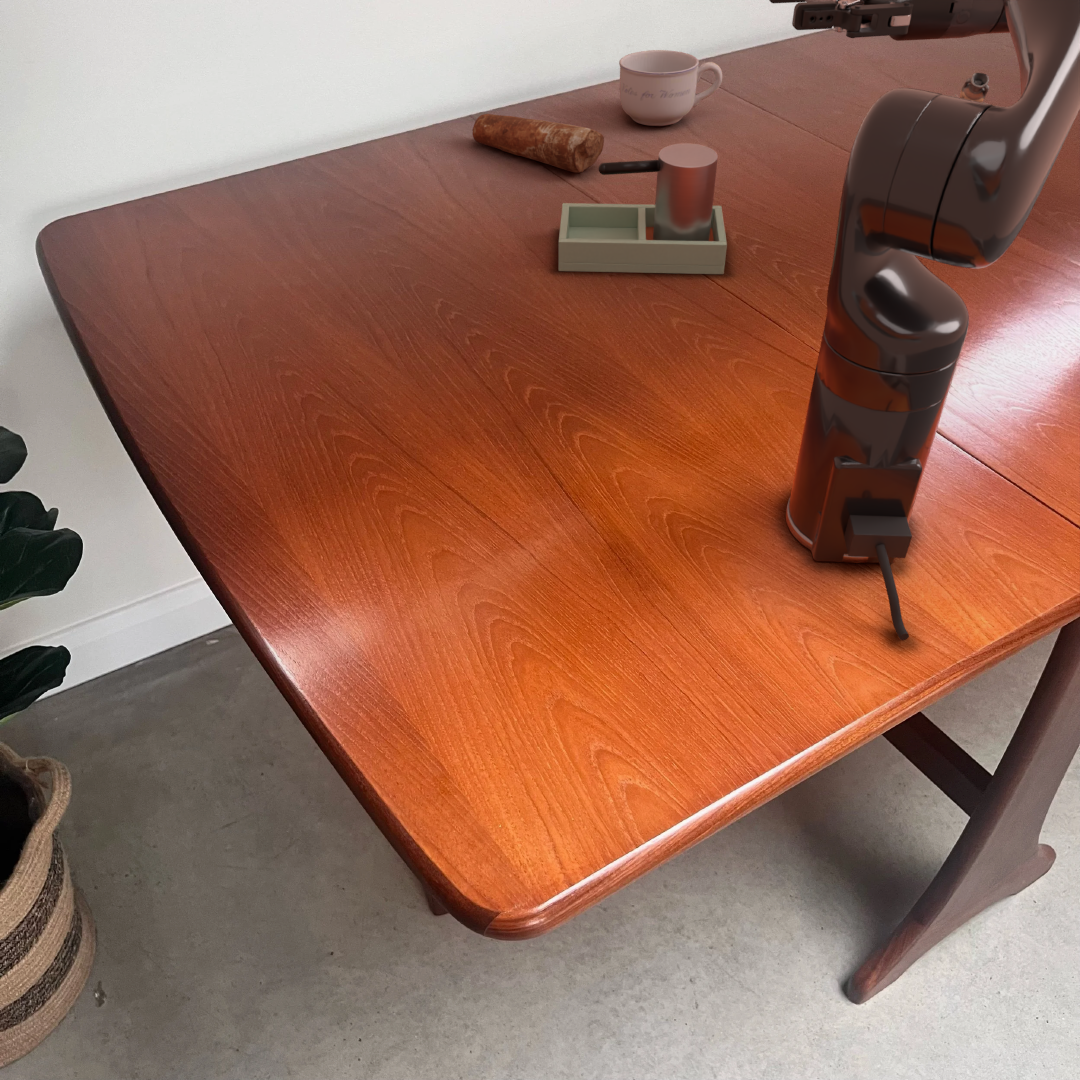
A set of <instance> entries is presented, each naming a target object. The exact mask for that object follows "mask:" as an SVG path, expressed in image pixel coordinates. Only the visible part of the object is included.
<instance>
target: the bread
mask: <svg viewBox="0 0 1080 1080" xmlns="http://www.w3.org/2000/svg"><path fill="white" fill-rule="evenodd" d="M472 139H474V141H475V142H477V143H479V144H482V145H485V146H488V147H491V148H495V149H498V150H501V151H502V152H505V153H508V154H512V155H515V156H519V157H523V158H526V159H529V160H533V161H537V162H540V163H543V164H546V165H550V166H552V167H555V168H558V169H561V170H563V171H564V170H565V171H568V172H571V173H577V174H578V173H583V172H584V171H585V170H587V169H588V168H590V167H592V166H593V165H594V164H595V163H596V162H597V160H598V158H599V157H600V156H601V154H602V152H603V149H604V144H605V138H604V135H603V134H602V133H601V132H598V131H597V130H595V129H592V128H589V127H584V126H580V125H579V126H578V125H573V124H569V123H561V122H556V121H555V122H553V121H549V120H548V121H547V120H541V119H534V118H524V117H519V116H514V115H501V114H500V115H499V114H491V113H484V114H481V115H480V116H478V117H477V118H476V119H475V121H474V123H473V127H472Z"/></svg>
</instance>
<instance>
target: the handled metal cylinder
mask: <svg viewBox="0 0 1080 1080" xmlns="http://www.w3.org/2000/svg"><path fill="white" fill-rule="evenodd" d="M718 159H719V155H718V153H717V151H716V150H715V149H713V148H711V147H709V146H707V145H703V144H699V143H690V142H682V143H674V144H669V145H667V146H664V147H663V148H661V149H660V150H659V151H658V156H657V159H647V160H646V159H645V160H630V161H629V160H627V161H614V162H612V161H611V162H609V161H608V162H602V163H600V164H599V166H598V168H597V170H598V172H599V174H600V175H603V176H609V175H627V174H644V173H656V188H655V203H654V205H655V216H654V231H653V240H669V241H709V236H710V226H711V217H712V207H713V206H714V198H715V187H716V177H717V169H718V161H719V160H718Z"/></svg>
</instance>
